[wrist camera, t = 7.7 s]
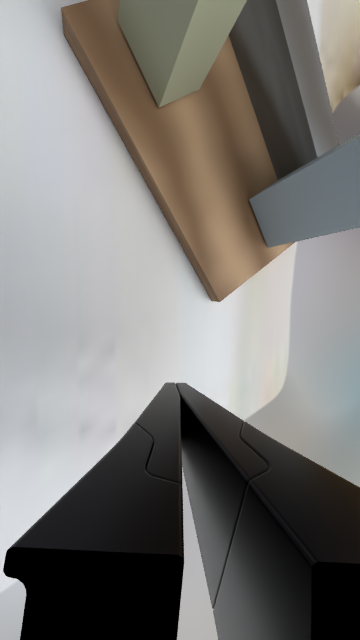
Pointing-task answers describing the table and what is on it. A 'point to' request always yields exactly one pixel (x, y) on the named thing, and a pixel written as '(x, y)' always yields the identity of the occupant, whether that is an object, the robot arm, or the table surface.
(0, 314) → the table surface
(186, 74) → the tall green block
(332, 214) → the orange-capped grey pillar
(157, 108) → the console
